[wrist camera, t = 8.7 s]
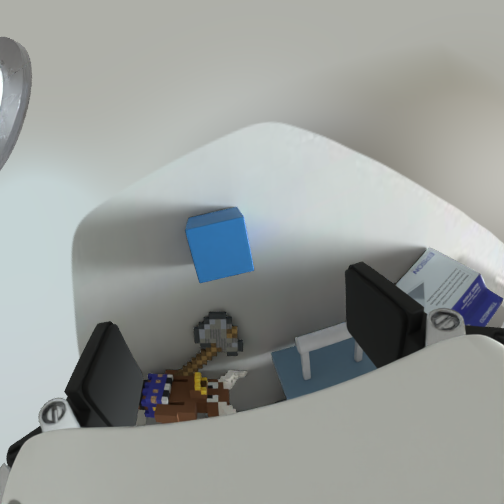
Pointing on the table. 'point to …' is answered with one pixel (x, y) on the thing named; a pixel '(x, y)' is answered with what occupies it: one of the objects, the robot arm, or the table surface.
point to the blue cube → (219, 244)
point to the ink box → (450, 288)
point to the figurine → (195, 378)
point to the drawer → (320, 361)
